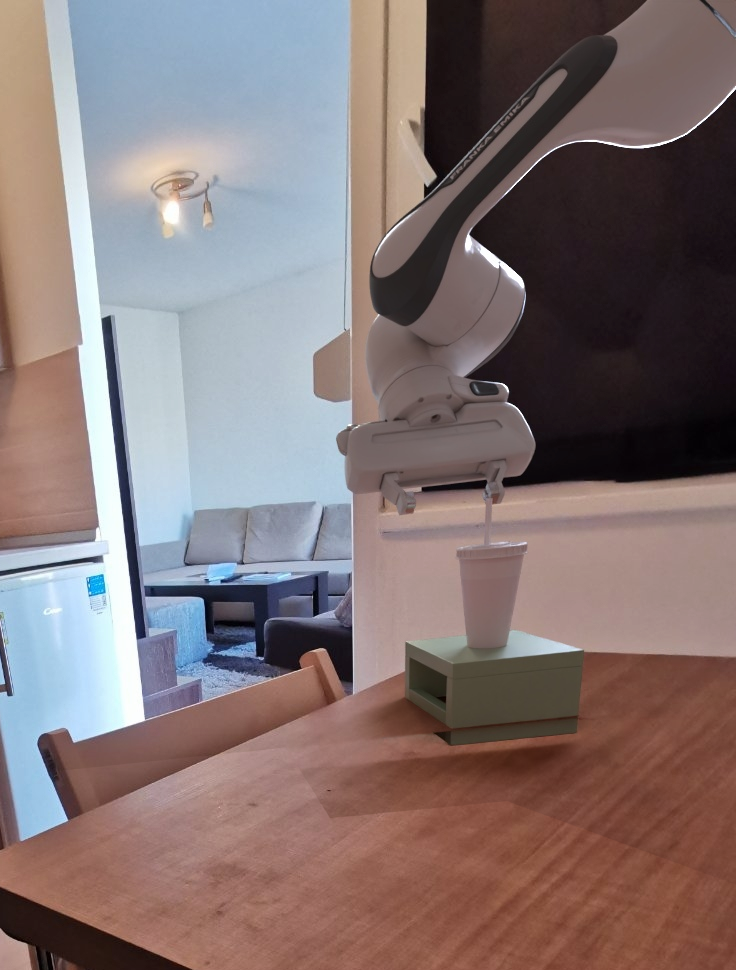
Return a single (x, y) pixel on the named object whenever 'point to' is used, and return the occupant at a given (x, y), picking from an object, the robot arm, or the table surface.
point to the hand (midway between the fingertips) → (451, 505)
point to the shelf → (495, 686)
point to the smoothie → (489, 587)
